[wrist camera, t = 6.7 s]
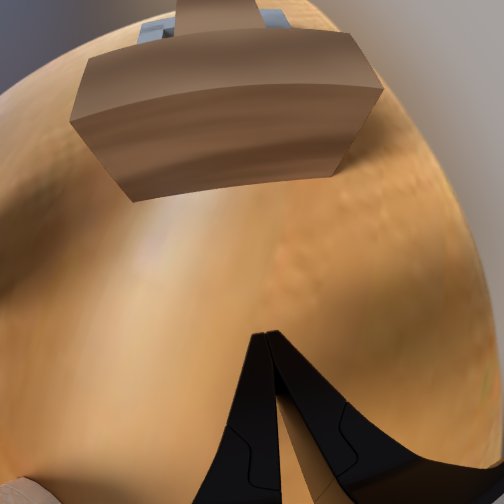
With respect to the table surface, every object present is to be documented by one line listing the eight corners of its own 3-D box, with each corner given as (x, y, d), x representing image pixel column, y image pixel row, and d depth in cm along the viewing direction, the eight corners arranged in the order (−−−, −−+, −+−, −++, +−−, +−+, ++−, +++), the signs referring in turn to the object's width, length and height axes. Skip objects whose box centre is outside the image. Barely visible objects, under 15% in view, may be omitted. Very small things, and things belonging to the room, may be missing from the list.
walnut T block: (330, 177, 17) (384, 88, 9) (132, 202, 16) (69, 121, 8) (288, 55, 19) (303, -23, 12) (141, 71, 18) (118, -6, 11)
